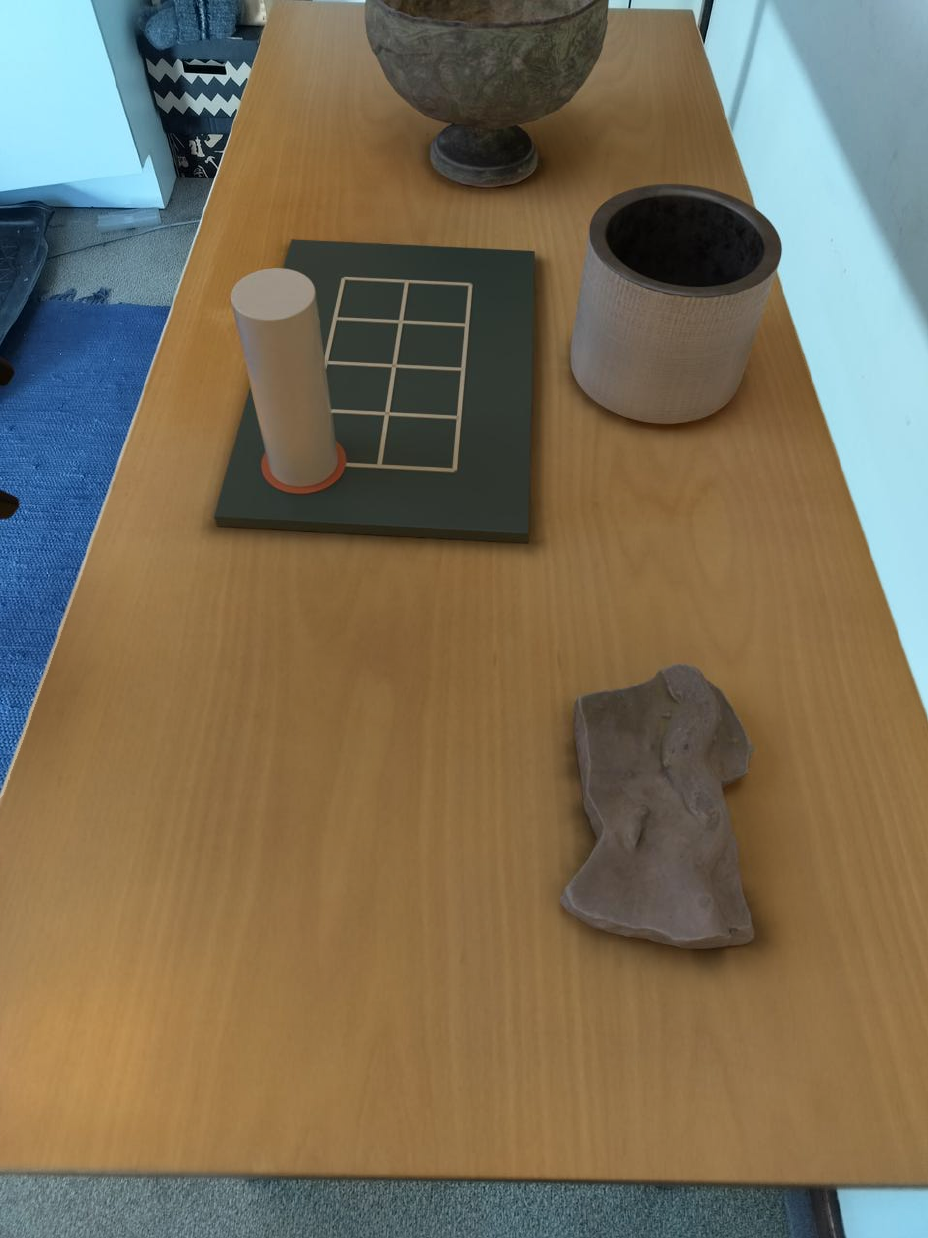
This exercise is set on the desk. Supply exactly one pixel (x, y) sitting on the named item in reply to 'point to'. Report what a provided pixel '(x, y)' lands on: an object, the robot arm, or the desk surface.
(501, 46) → the bowl
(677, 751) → the stone
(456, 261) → the board
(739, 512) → the desk surface
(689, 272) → the planter
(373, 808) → the desk surface
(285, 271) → the white upright cylinder
